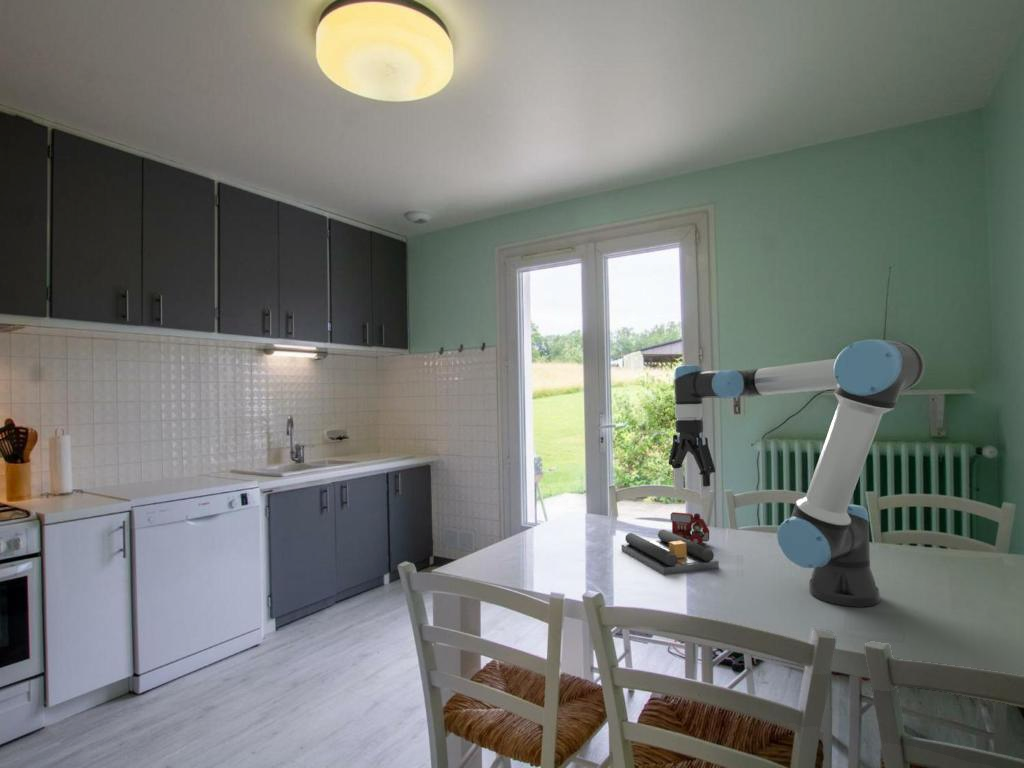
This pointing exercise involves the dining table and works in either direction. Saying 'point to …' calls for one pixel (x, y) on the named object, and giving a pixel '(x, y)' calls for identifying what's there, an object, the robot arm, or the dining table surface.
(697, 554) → the dark grey cylindrical rod
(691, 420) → the robot arm
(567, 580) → the dining table surface
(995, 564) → the dining table surface
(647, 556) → the panel
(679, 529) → the toy fire truck
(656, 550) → the dark grey cylinder rod
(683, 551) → the tan cardboard-colored block
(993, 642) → the dining table surface
